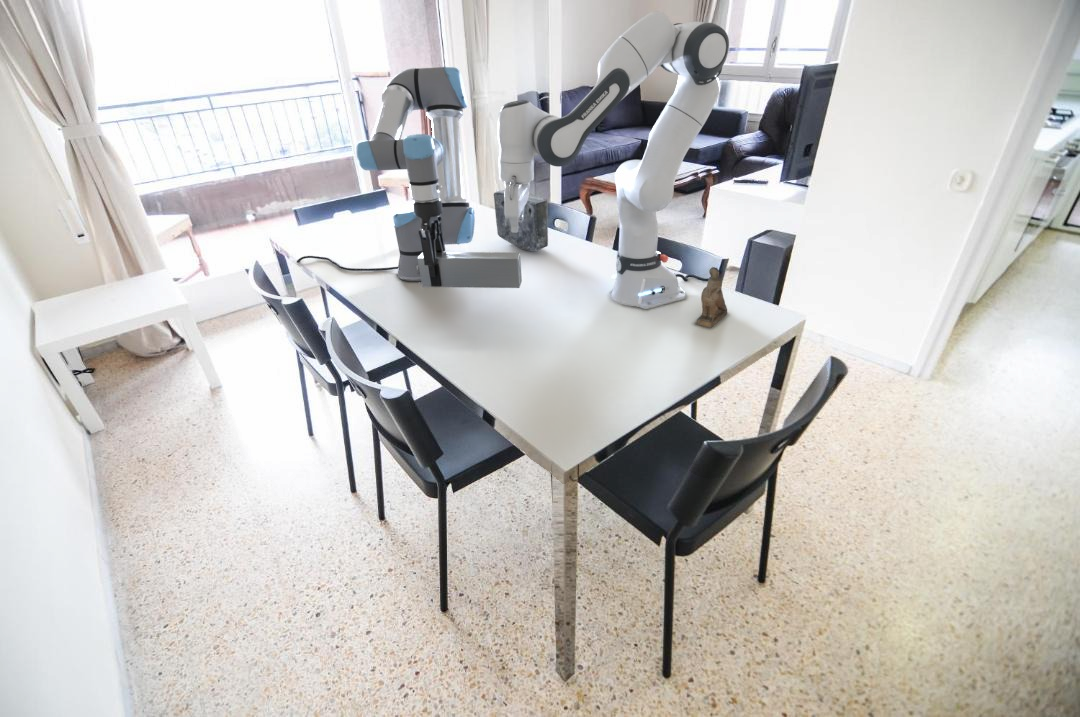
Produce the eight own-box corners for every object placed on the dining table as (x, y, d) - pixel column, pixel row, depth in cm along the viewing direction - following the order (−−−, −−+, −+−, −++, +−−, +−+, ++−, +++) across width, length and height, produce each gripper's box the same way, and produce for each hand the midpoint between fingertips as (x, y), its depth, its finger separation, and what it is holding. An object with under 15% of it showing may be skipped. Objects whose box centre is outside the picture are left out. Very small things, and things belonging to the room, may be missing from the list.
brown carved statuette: (709, 335, 136) (713, 280, 124) (691, 329, 139) (693, 274, 128) (730, 313, 142) (736, 258, 130) (712, 307, 145) (716, 253, 133)
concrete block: (553, 252, 189) (552, 199, 179) (534, 258, 185) (532, 204, 175) (514, 236, 208) (511, 187, 198) (496, 241, 204) (492, 191, 193)
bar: (422, 286, 141) (417, 258, 136) (427, 280, 145) (422, 252, 141) (519, 288, 138) (517, 258, 134) (521, 281, 142) (520, 252, 138)
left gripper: (430, 208, 122) (443, 295, 134) (449, 191, 137) (459, 270, 149) (401, 208, 123) (416, 294, 135) (423, 191, 138) (435, 270, 150)
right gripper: (523, 181, 117) (524, 239, 124) (533, 165, 134) (533, 216, 141) (497, 180, 117) (499, 238, 124) (510, 165, 135) (511, 216, 142)
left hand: (439, 282), depth 142 cm, fingers closed on bar, 5 cm apart
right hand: (517, 226), depth 133 cm, fingers open, 8 cm apart
